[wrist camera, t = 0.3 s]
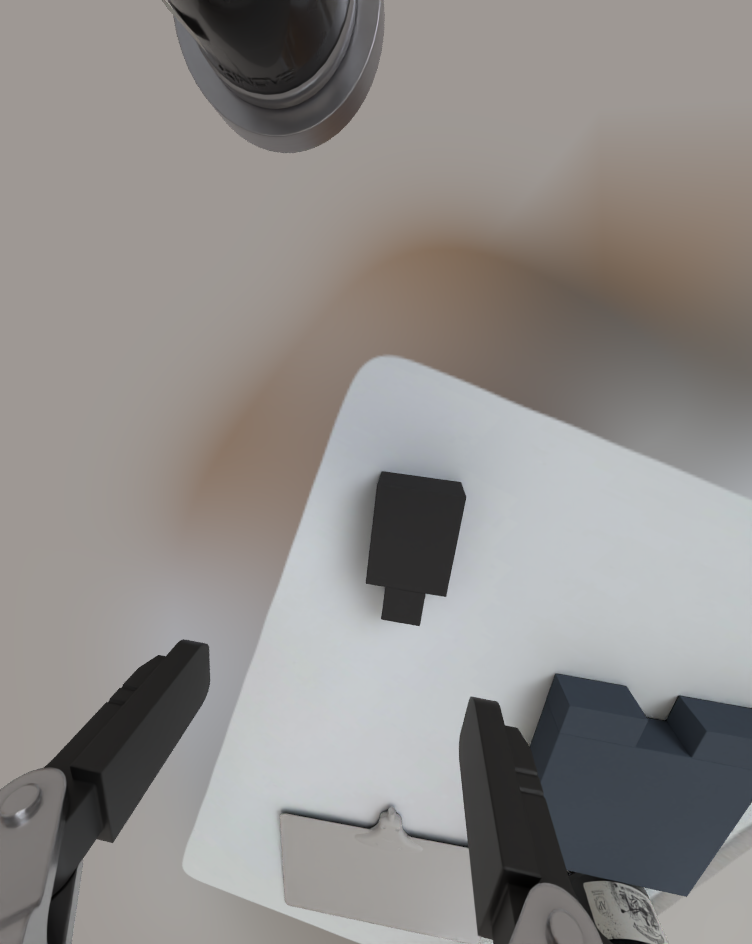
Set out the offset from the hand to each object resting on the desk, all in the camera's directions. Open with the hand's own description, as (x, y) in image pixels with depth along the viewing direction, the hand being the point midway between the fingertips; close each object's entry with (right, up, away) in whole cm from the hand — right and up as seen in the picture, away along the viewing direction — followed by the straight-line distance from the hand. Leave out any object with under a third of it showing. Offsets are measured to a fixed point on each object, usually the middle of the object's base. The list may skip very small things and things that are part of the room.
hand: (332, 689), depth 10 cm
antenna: (+2, -40, +31) cm, 51 cm away
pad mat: (+24, -21, +22) cm, 39 cm away
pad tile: (+4, +1, +17) cm, 18 cm away
